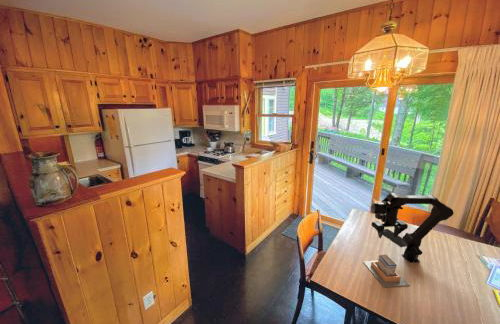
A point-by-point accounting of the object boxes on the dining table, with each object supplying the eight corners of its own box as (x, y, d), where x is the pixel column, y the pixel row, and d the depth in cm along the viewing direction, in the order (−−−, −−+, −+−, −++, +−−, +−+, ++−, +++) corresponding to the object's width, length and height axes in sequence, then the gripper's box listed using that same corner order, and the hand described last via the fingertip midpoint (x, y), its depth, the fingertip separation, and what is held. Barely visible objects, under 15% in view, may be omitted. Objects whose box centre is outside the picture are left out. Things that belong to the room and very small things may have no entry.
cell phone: (387, 229, 153) (387, 228, 153) (411, 244, 136) (411, 243, 136) (377, 231, 151) (377, 230, 150) (401, 247, 134) (401, 246, 134)
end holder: (385, 260, 123) (386, 256, 122) (409, 285, 106) (410, 281, 105) (362, 261, 122) (363, 257, 121) (383, 287, 105) (384, 283, 104)
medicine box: (376, 267, 117) (378, 254, 115) (384, 266, 118) (386, 254, 115) (386, 278, 110) (389, 265, 107) (394, 277, 110) (397, 264, 108)
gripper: (396, 207, 127) (392, 228, 132) (367, 208, 126) (364, 230, 131) (410, 216, 117) (405, 239, 121) (379, 218, 116) (375, 241, 120)
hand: (387, 237), depth 123 cm, fingers open, 9 cm apart
